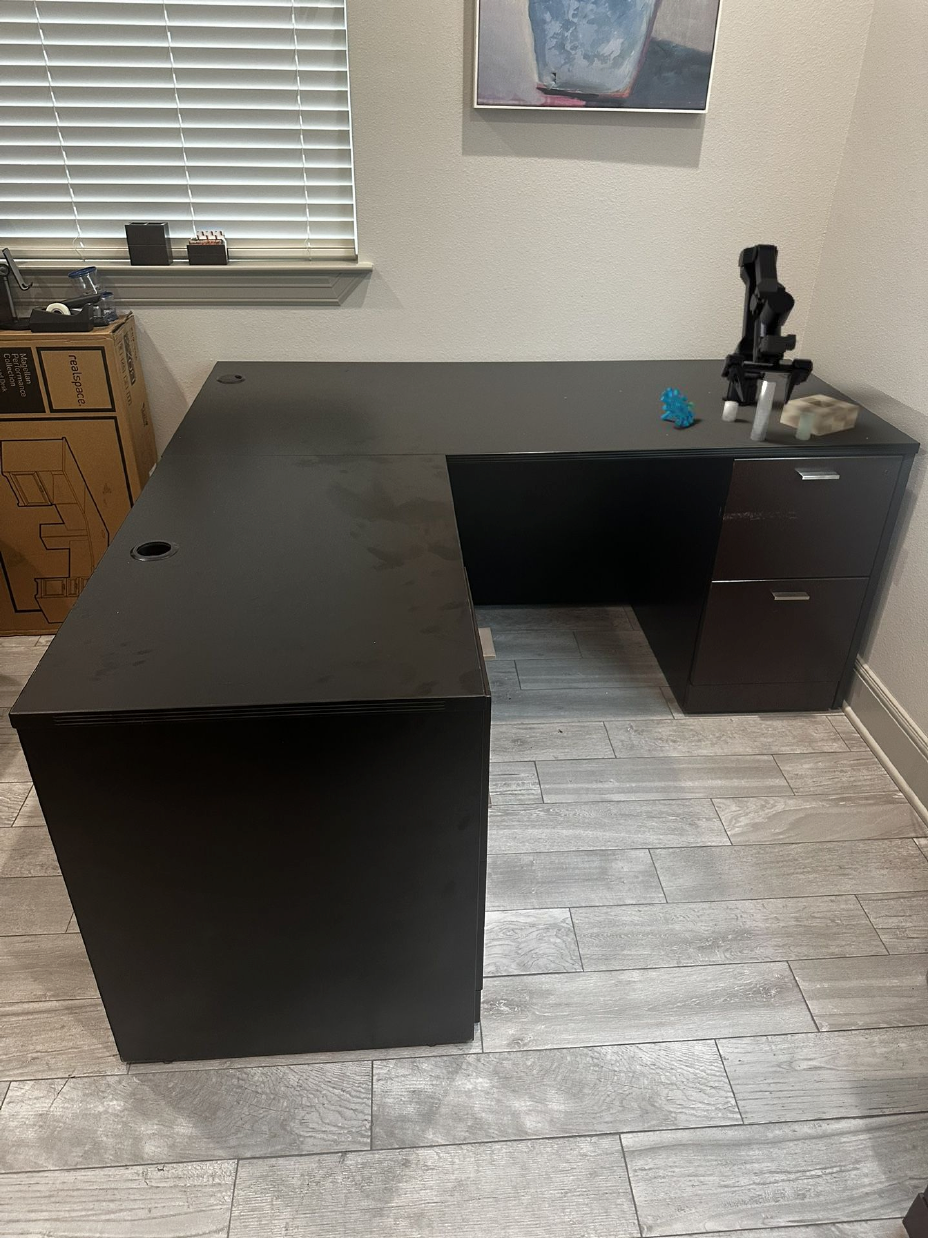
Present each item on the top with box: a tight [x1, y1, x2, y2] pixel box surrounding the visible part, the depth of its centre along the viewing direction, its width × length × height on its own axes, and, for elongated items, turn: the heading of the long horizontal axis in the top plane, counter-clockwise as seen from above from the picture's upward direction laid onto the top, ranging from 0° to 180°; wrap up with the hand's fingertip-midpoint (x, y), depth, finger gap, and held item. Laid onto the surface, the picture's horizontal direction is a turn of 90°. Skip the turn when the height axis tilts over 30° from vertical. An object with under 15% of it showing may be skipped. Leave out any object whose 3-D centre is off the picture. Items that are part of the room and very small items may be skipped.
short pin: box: [721, 400, 739, 423], centre depth 199 cm, size 3×3×4 cm
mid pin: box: [795, 412, 815, 441], centre depth 188 cm, size 3×3×6 cm
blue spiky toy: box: [660, 387, 695, 428], centre depth 196 cm, size 11×6×10 cm
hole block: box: [779, 393, 860, 437], centre depth 197 cm, size 11×13×5 cm
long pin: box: [750, 378, 778, 442], centre depth 185 cm, size 3×3×13 cm
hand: (764, 402), depth 184 cm, fingers open, 9 cm apart
